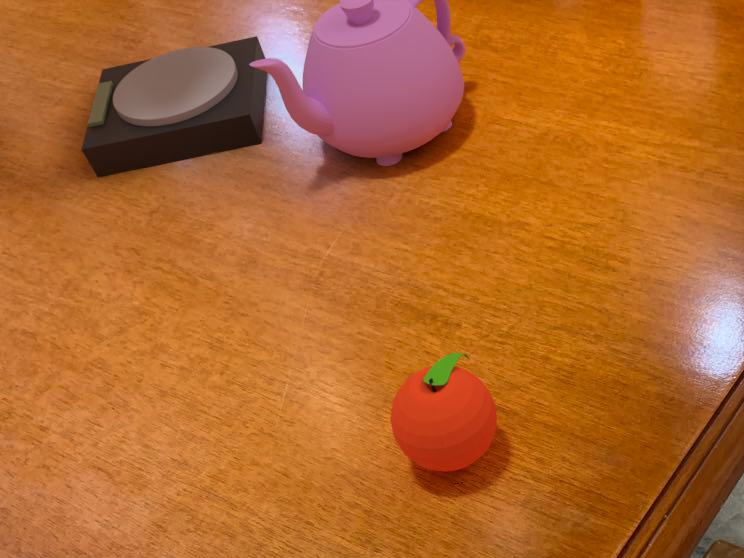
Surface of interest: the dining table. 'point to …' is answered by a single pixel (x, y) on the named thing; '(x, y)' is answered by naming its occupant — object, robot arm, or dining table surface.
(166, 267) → the dining table surface
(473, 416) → the clementine
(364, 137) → the teapot
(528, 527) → the dining table surface
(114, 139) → the scale
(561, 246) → the dining table surface
